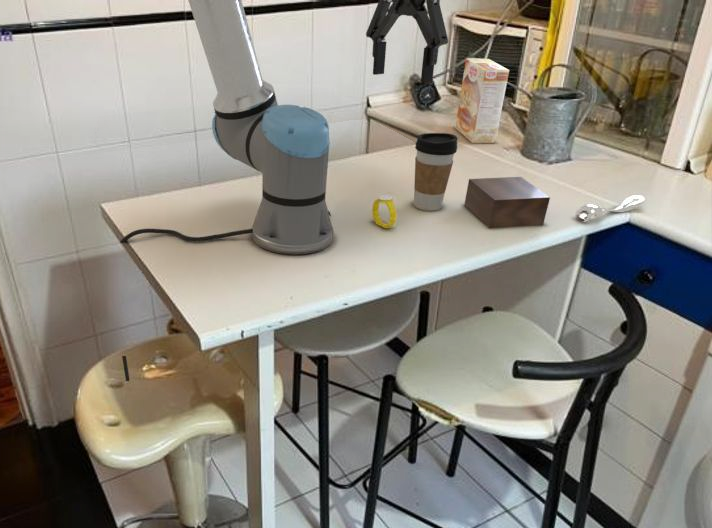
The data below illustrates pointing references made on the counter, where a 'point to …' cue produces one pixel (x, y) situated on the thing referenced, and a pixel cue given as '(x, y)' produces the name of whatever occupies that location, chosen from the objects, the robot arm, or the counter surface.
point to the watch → (392, 210)
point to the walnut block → (506, 202)
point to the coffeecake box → (481, 100)
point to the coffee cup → (433, 168)
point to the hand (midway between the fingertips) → (401, 78)
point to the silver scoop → (593, 211)
